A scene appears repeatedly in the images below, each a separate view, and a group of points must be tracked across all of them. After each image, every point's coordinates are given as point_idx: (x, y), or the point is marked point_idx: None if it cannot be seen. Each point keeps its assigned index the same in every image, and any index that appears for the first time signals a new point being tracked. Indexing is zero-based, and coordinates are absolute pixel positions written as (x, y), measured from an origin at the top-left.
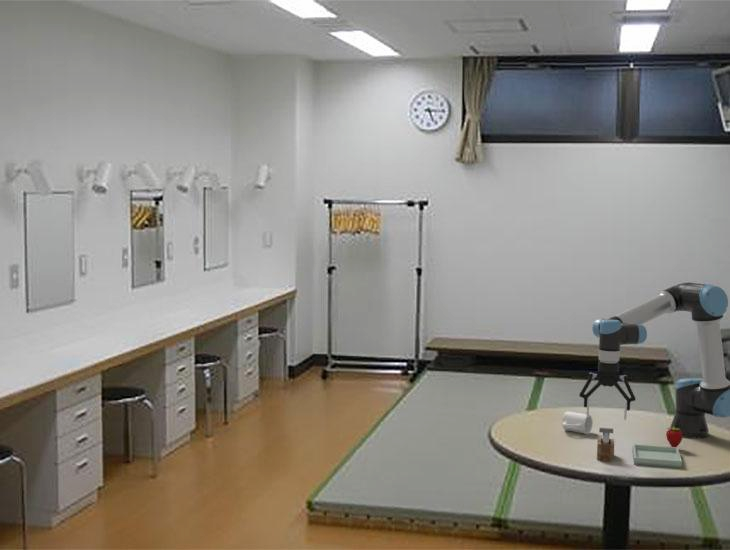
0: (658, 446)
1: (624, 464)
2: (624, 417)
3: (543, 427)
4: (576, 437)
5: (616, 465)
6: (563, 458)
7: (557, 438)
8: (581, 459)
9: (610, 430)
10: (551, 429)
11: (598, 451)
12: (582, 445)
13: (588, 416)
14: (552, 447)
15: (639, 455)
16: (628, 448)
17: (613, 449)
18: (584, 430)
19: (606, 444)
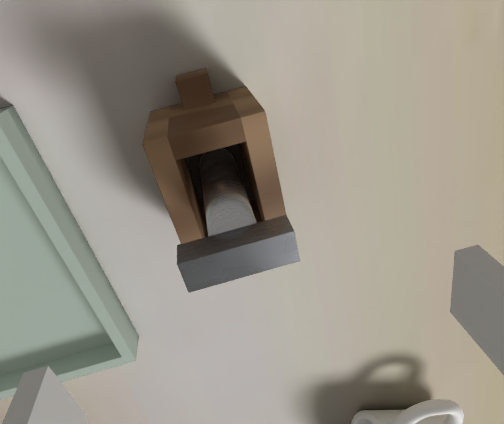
0: (9, 390)
1: (63, 71)
2: (37, 390)
3: (500, 399)
4: (388, 366)
5: (97, 15)
6: (434, 2)
7: None
8: (330, 41)
9: (200, 252)
10: (475, 395)
11: (247, 99)
12: (356, 289)
13: (458, 252)
14: (485, 189)
15: (54, 260)
16: (165, 351)
17: (149, 131)
18: (371, 416)
19: (200, 130)
